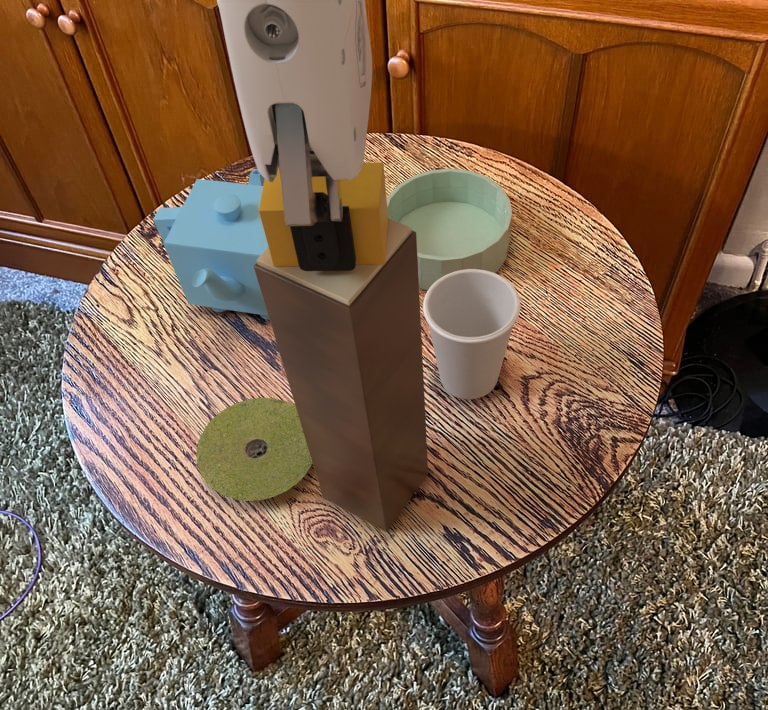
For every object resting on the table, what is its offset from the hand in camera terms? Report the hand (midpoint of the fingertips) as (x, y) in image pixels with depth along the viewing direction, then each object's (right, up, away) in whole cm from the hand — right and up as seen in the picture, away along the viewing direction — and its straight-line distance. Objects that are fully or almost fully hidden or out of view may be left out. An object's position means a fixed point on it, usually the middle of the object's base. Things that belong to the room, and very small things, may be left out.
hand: (331, 235), depth 44 cm
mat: (-8, -11, +28) cm, 31 cm away
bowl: (+10, +13, +39) cm, 42 cm away
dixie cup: (+11, -3, +31) cm, 33 cm away
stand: (+2, -14, +26) cm, 29 cm away
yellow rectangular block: (0, 0, +1) cm, 1 cm away
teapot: (-11, +7, +38) cm, 41 cm away
